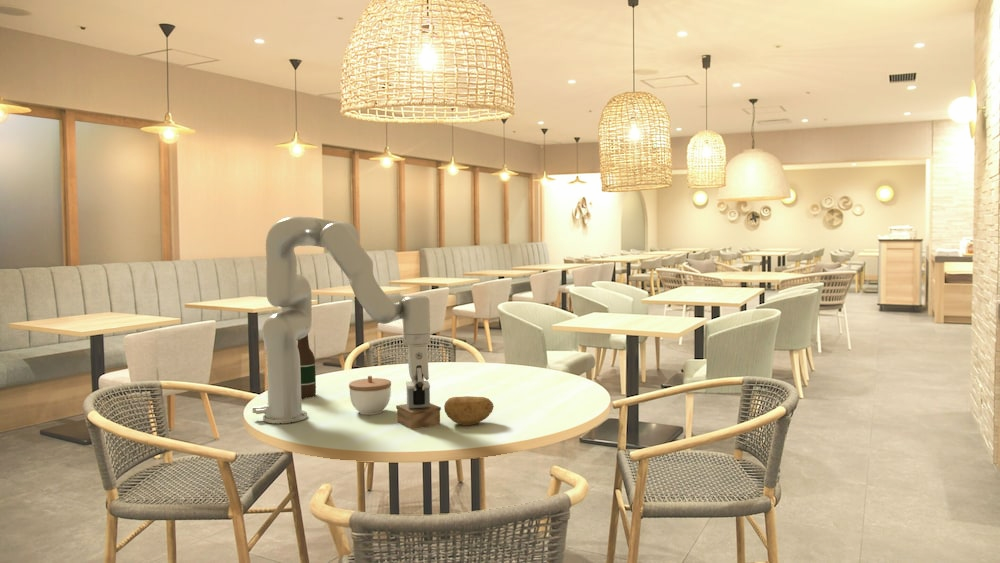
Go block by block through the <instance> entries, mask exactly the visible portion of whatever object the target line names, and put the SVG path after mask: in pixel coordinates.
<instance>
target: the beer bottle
mask: <svg viewBox="0 0 1000 563" xmlns="http://www.w3.org/2000/svg"><path fill="white" fill-rule="evenodd" d="M308 334H309V333H308ZM308 334H307V335H306V336H305V337H304V338H302V339H300V340H297V346H298V350H299V355H300V370H301V399H310V397H311V398H313V396H314V397H316V394H317V385H316V382H317V380H316V357H315V355H314V353H313V351H312V350H311V348H310V343H309V335H308Z"/></svg>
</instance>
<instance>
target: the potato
mask: <svg viewBox="0 0 1000 563" xmlns="http://www.w3.org/2000/svg"><path fill="white" fill-rule="evenodd" d="M443 407H444V412H445V414H446V416H447V417H448V419H450V420H451V421H452V422H454V423H456V424H458V425H463V426H472V425H475V424H478V423H480V422H482V421H485V419H487V418H488V417H489V416H490V415H491V413H493V411H494V403H493V401H492V400H490V399H489V398H487V397H484V396H453V397H450V398H448V399H447V400H446V401H445V403H444V406H443Z"/></svg>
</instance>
